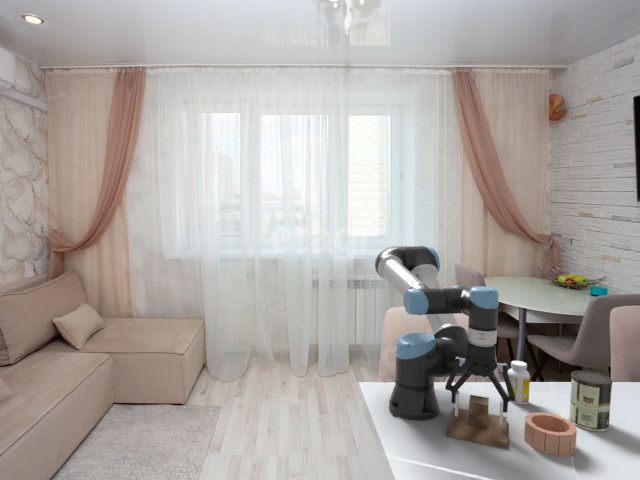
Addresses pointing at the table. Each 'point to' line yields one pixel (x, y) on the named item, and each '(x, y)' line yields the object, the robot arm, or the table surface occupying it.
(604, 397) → the coffee can
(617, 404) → the table surface
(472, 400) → the walnut lid
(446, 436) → the rubber mat
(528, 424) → the terracotta bowl
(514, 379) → the supplement bottle
